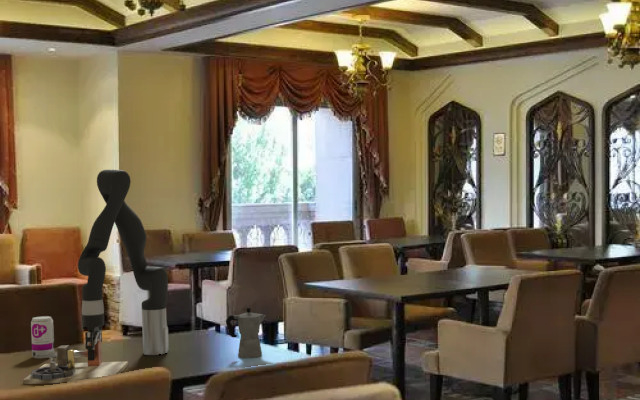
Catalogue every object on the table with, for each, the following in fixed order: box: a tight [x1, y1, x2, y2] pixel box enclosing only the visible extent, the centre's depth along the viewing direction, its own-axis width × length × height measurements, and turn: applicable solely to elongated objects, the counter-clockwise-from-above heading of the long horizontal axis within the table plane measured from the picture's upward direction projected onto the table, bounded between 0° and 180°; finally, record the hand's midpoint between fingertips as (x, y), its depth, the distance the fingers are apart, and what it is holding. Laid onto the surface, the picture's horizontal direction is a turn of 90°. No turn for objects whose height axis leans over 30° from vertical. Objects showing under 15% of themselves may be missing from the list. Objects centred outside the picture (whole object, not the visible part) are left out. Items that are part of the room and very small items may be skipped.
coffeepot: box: [225, 307, 267, 359], centre depth 331 cm, size 15×9×18 cm, turn 110°
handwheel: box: [30, 349, 76, 380], centre depth 302 cm, size 14×14×8 cm
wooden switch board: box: [22, 344, 129, 385], centre depth 308 cm, size 30×24×8 cm
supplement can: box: [30, 315, 55, 359], centre depth 341 cm, size 8×8×15 cm
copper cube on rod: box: [48, 341, 103, 366], centre depth 316 cm, size 18×4×8 cm, turn 90°
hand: (94, 358), depth 316 cm, fingers open, 8 cm apart
